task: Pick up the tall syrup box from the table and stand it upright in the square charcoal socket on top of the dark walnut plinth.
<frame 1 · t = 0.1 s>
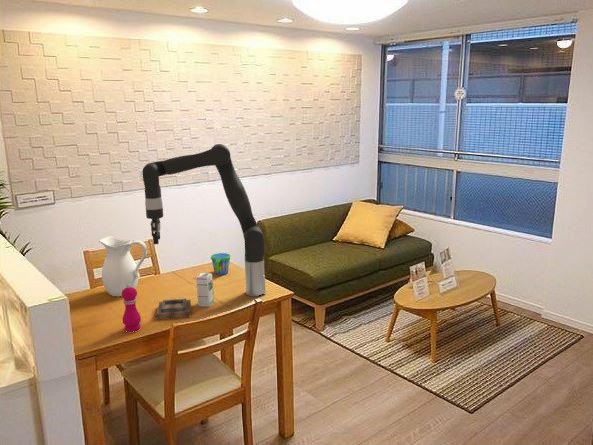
hand: (157, 241, 227), 29 cm above the table, tool pointing down, fingers open, 8 cm apart
pitcher: (128, 293, 243), on the table
snack cup: (221, 273, 271), on the table
pepper mill: (132, 330, 203), on the table
syrup box: (206, 304, 229), on the table
plinth: (174, 311, 220), on the table
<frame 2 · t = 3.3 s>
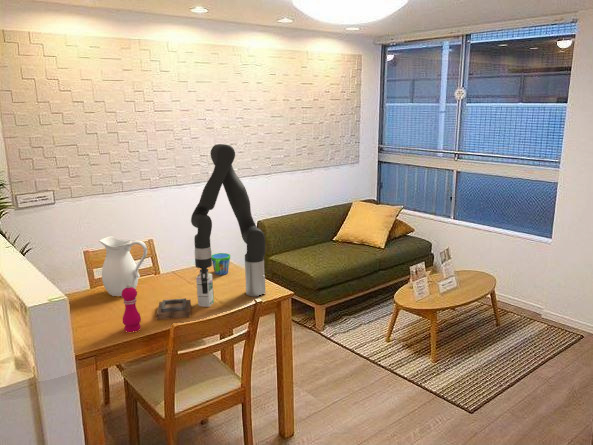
hand: (205, 290, 227), 7 cm above the table, tool pointing down, fingers closed on syrup box, 7 cm apart
syrup box: (206, 304, 229), on the table, touching gripper
everything else where it was.
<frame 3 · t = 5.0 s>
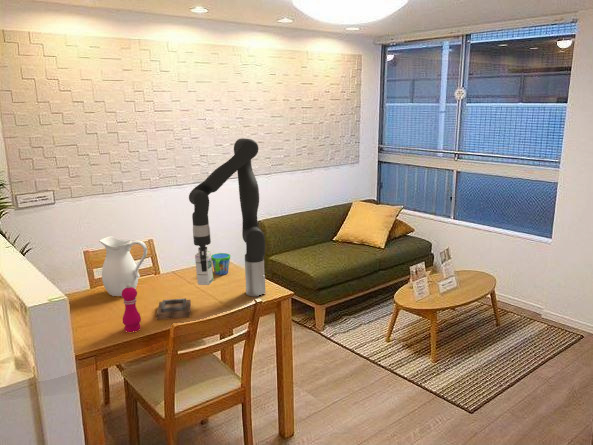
hand: (204, 268, 225), 17 cm above the table, tool pointing down, fingers closed on syrup box, 7 cm apart
syrup box: (205, 283, 226), point 10 cm above the table, touching gripper
everything else where it was.
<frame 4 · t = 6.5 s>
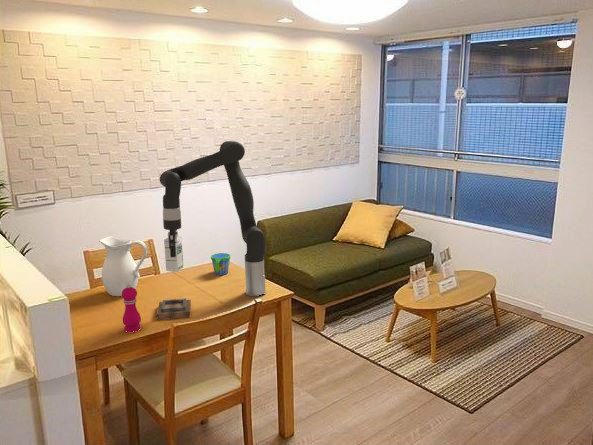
hand: (173, 254, 215), 27 cm above the table, tool pointing down, fingers closed on syrup box, 7 cm apart
syrup box: (174, 269, 217), point 20 cm above the table, touching gripper
everything else where it was.
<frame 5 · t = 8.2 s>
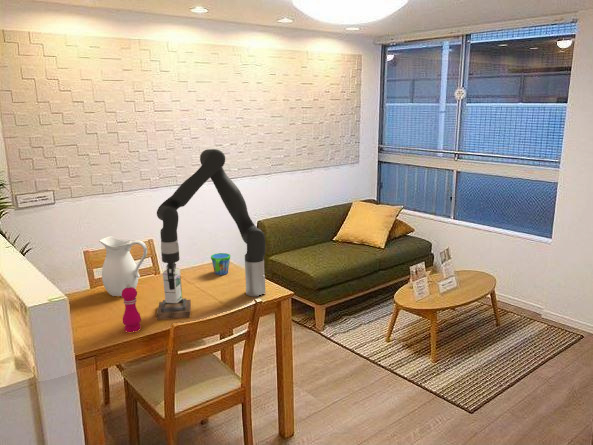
hand: (172, 286, 218), 12 cm above the table, tool pointing down, fingers closed on syrup box, 7 cm apart
syrup box: (173, 301, 219), point 5 cm above the table, touching gripper
everything else where it was.
when the fingers open (10 cm above the table, at t = 9.5 s): syrup box stays where it is, resting on plinth.
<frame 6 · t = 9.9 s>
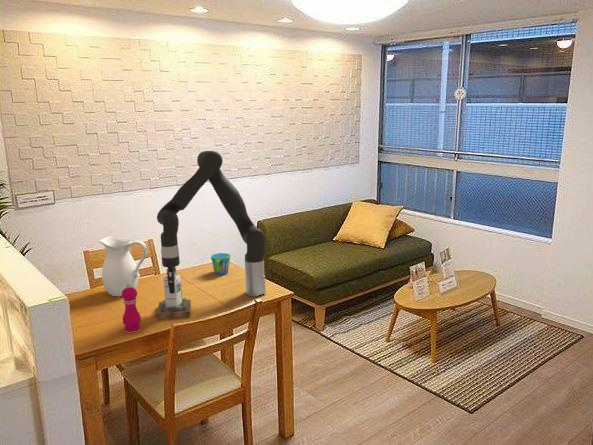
hand: (172, 289, 218), 11 cm above the table, tool pointing down, fingers open, 8 cm apart
syrup box: (174, 307, 220), point 2 cm above the table, touching plinth
everything else where it was.
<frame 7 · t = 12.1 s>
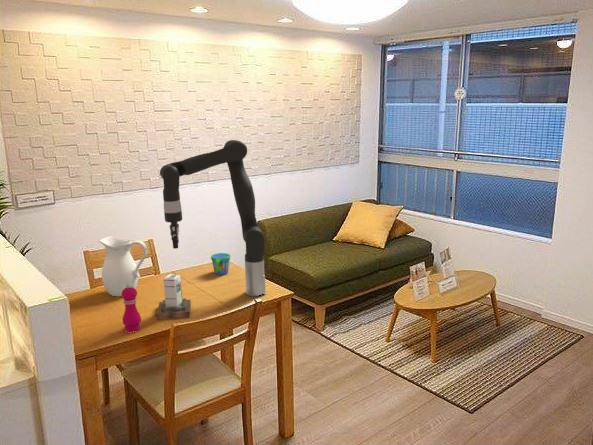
hand: (176, 245, 220), 29 cm above the table, tool pointing down, fingers open, 8 cm apart
nothing on the table moved.
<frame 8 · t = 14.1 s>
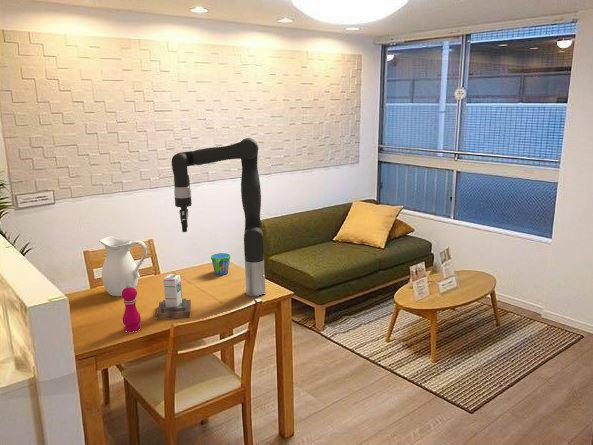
hand: (185, 229, 232), 33 cm above the table, tool pointing down, fingers open, 8 cm apart
nothing on the table moved.
at the end: syrup box 0.2 cm off-centre on the plinth, point 2.3 cm above the plinth's base; syrup box tilted 0°; the gripper is holding nothing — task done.
